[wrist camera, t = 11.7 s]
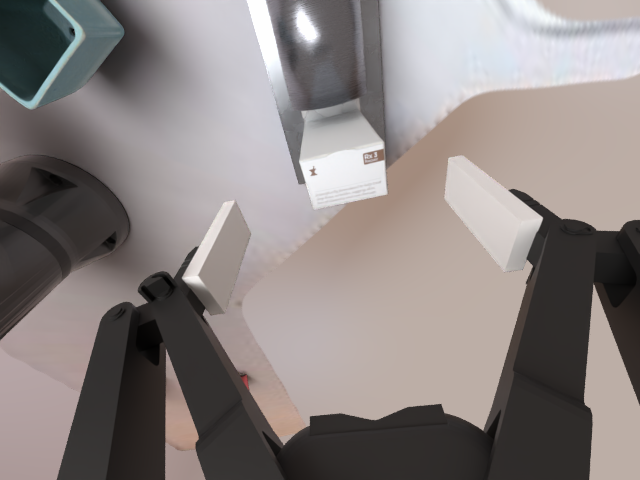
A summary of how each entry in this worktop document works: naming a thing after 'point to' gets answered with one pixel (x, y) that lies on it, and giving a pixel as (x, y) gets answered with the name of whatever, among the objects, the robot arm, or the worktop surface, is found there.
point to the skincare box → (342, 160)
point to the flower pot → (52, 47)
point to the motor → (321, 62)
